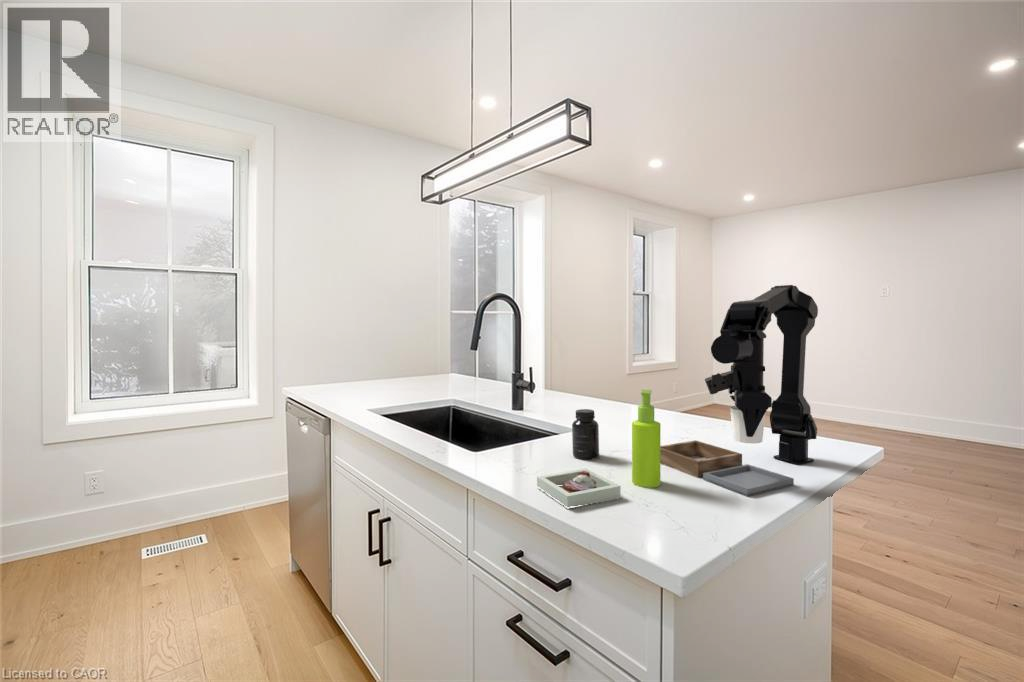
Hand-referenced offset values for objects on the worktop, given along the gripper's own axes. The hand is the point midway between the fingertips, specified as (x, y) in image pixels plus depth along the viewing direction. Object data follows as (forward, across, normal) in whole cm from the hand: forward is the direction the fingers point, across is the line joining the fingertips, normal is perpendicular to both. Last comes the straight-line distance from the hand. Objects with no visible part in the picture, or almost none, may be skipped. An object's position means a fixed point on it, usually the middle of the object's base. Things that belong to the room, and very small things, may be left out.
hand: (747, 433), depth 99 cm
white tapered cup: (+2, 0, 0) cm, 2 cm away
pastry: (+11, +19, -32) cm, 39 cm away
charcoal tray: (+11, 0, 0) cm, 11 cm away
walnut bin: (+11, -10, -10) cm, 18 cm away
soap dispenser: (+11, +7, -20) cm, 24 cm away
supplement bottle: (+11, -8, -37) cm, 39 cm away
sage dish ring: (+11, +18, -33) cm, 39 cm away
